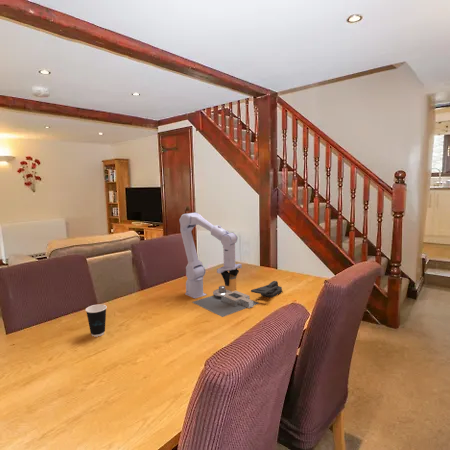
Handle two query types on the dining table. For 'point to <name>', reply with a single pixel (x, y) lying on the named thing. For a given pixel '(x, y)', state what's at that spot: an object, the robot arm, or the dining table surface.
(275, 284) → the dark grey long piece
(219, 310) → the site mat
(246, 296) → the scaffold node
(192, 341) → the dining table surface
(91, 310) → the dixie cup
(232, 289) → the orange grey two-tone block
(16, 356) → the dining table surface
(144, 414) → the dining table surface
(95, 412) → the dining table surface
